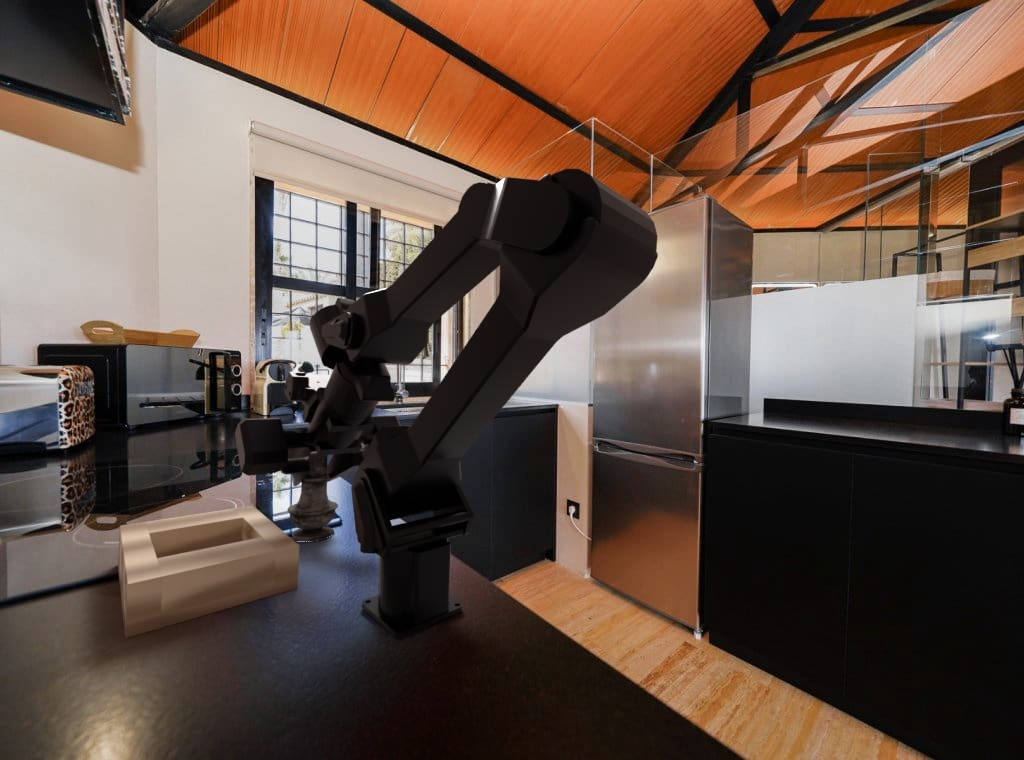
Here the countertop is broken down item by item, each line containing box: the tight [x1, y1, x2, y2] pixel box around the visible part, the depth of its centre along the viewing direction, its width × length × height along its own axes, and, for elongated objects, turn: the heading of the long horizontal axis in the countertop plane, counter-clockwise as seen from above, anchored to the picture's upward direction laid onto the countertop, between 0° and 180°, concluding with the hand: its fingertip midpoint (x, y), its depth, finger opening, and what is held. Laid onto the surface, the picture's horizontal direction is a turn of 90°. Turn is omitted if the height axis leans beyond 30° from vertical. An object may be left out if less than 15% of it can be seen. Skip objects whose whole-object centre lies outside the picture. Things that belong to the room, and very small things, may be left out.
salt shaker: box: [287, 453, 339, 543], centre depth 53 cm, size 6×6×12 cm
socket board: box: [117, 505, 300, 639], centre depth 41 cm, size 17×12×4 cm
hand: (310, 481), depth 54 cm, fingers closed on salt shaker, 4 cm apart
